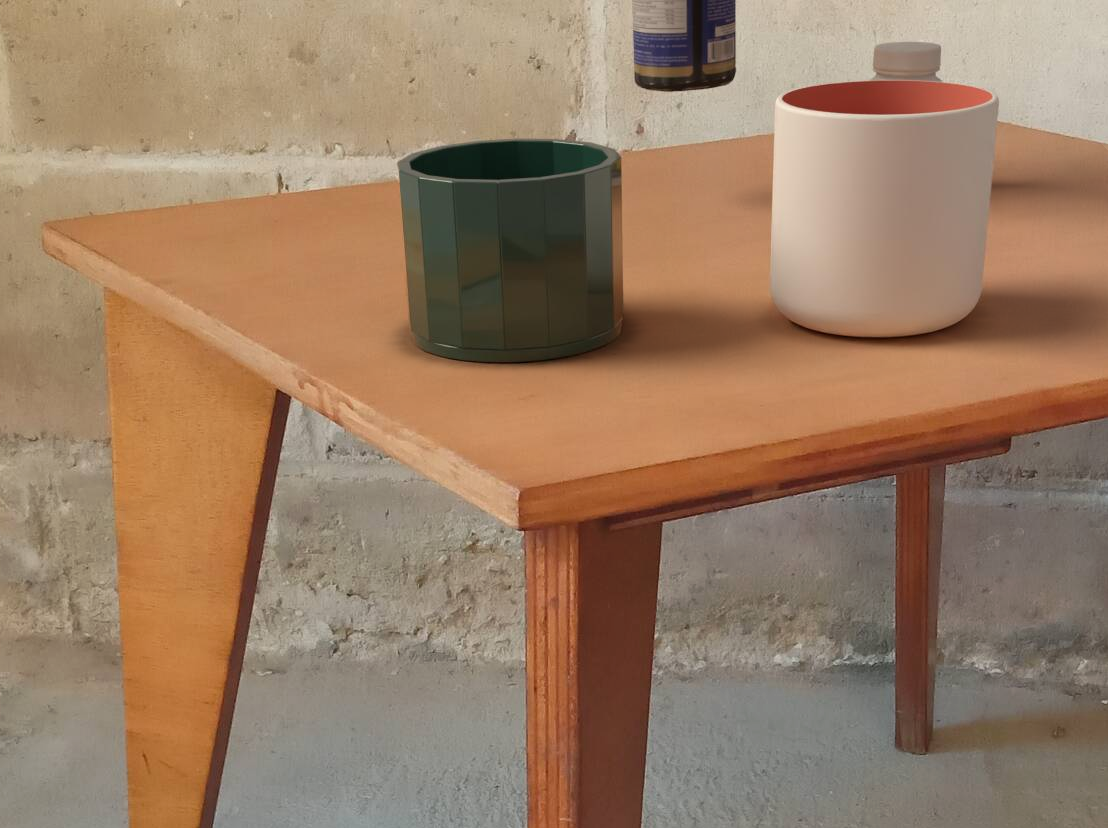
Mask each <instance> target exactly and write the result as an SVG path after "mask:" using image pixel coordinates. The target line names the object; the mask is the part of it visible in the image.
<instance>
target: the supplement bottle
mask: <svg viewBox="0 0 1108 828" xmlns="http://www.w3.org/2000/svg"><path fill="white" fill-rule="evenodd" d="M941 61H942V45H941V44H938V43H933V42H926V41H925V42H924V41H893V42H885V43H879V44H877V45H875V46H874V49H873V60H872V71H873V72H874V73H875V76H873V77H872V78H870V79H868V81H870V80H916V81H935V82H943V80H942V79H941V78H940V77H938V76H937V75H936V73H938V72H939V71H941Z"/></svg>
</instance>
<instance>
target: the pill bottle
mask: <svg viewBox="0 0 1108 828" xmlns="http://www.w3.org/2000/svg"><path fill="white" fill-rule="evenodd" d="M736 4H737V2H736V0H631V7H632V37H633V38H632V40H633V41H632V42H633V43H632V44H633V45H632V46H633V72H634V74H633V75H634V77H633V79H634V83H635V85H636V86H637V87H639V88H640V89H644V90H647V91H653V92H665V93H672V92H673V93H674V92H688V91H701V90H708V89H714V88H718V87H719V88H720V87H724V86H728V85H729V84H731V83H732V82H733V81H734V79H735V77H736V73H737V68H736V64H737V62H736V61H737V60H736V59H737V49H736V47H737V45H736V41H737V40H736V36H737V31H736V29H737V25H736V23H737V21H736V18H737V17H736V15H737V13H736V10H737V8H736Z"/></svg>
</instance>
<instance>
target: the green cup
mask: <svg viewBox="0 0 1108 828" xmlns="http://www.w3.org/2000/svg"><path fill="white" fill-rule="evenodd" d="M396 171H397V183H398V199H399V210H400V223H401V226H400V227H401V236H402V238H401V239H402V249H403V250H402V251H403V263H404V265H403V266H404V276H405V277H404V278H405V288H406V289H405V290H406V304H407V315H408V324H409V333H410V339H411V342H412V343H413V344H414V345H415V346H416V347H418V348H419V349H421V350H423V351H424V352H427V353H430V354H433V355H436V356H439V357H443V358H446V359H447V358H448V359H452V360H453V359H454V360H460V361H468V362H479V363H523V362H525V363H526V362H527V363H528V362H537V361H548V360H554V359H559V358H561V359H562V358H566V357H571V356H575V355H579V354H583V353H586V352H590V351H593V350H596V349H598V348H601V347H603V346H605V345H607V344H609V343H611V342H612V341H615V340H616V339H617V338H618V337H619V335H620V334H621V332H622V327H623V322H622V321H623V318H624V256H623V255H624V254H623V253H624V252H623V251H624V250H623V246H624V245H623V184H622V183H623V181H622V179H623V177H622V176H623V175H622V174H623V173H622V171H623V169H622V156H621V155H620V154H619V152H618V151H617V150H616V149H615V148H612V147H609V146H605V145H603V144H598V143H594V142H591V141H582V140H581V141H580V140H571V139H564V138H563V139H562V138H502V139H501V138H500V139H486V140H485V139H483V140H474V141H467V142H460V143H452V144H445V145H444V144H443V145H439V146H435V147H431V148H428V149H427V148H426V149H424V150H419V151H416V152H412V153H410V154H409V155H407V156H405V157H403V158H401V159H400V160H398V161H397V162H396Z"/></svg>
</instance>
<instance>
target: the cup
mask: <svg viewBox="0 0 1108 828" xmlns="http://www.w3.org/2000/svg"><path fill="white" fill-rule="evenodd" d="M869 80H870V79H869ZM869 80H851V81H838V82H829V83H821V84H815V85H807V86H803V87H799V88H794V89H792V90H791V89H790V90H788V91H786V92H783V93H782V94H780V95H778V97H776V99H775V102H774V103H775V104H774V130H773V131H774V132H773V135H774V136H773V163H772V165H773V167H772V197H771V198H772V199H771V200H772V201H771V227H770V229H771V230H770V232H771V233H770V234H771V235H770V236H771V237H770V262H769V263H770V264H769V265H770V266H769V293H770V297H771V300H772V302H773V305H775V307H776V309H777V310H778V311H779V312H780V314H782V315H783V317H785V318H786V319H788V320H789V321H790V322H793V323H795V324H797V325H799V326H802V327H804V328H806V329H808V330H812V331H816V332H820V333H825V334H831V335H836V336H837V335H838V336H846V337H856V338H858V337H859V338H895V337H909V336H916V335H922V334H929V333H932V332H936V331H939V330H942V329H946V328H948V327H950V326H953V325H955V324H956V323H958V322H960V321H961V320H963V319H965V318H966V317H967V316H968V315H969V314H970V313H971V312H972V311H973V310H974V309H975V307H976V306H977V304H978V302H979V300H980V298H981V295H982V290H983V280H984V271H985V260H986V259H985V258H986V249H987V238H988V227H989V215H990V204H991V194H992V184H993V183H992V182H993V174H994V173H993V171H994V162H995V161H994V160H995V152H996V151H995V150H996V141H997V140H996V139H997V130H998V129H997V128H998V120H999V119H998V116H999V106H1000V99H999V96H998V95H997V94H996V93H995V92H993V91H991V90H990V89H989V90H988V89H985V88H982V87H978V86H975V85H969V84H962V83H957V82H956V83H955V82H948V81H947V82H946V81H944V82H943V81H942V82H935V81H916V80H870V81H869Z"/></svg>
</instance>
